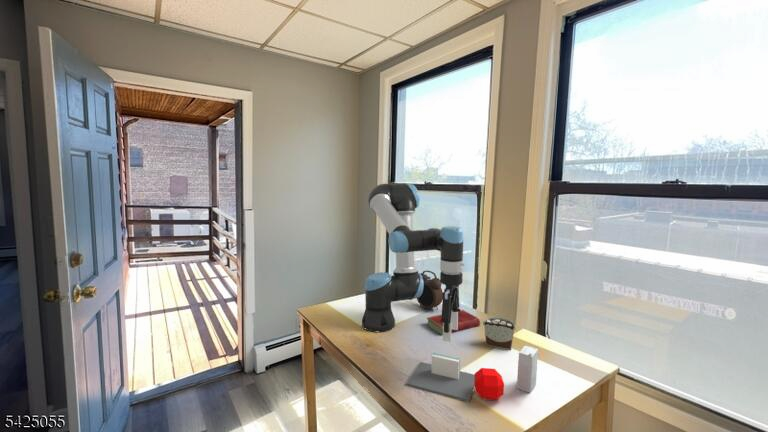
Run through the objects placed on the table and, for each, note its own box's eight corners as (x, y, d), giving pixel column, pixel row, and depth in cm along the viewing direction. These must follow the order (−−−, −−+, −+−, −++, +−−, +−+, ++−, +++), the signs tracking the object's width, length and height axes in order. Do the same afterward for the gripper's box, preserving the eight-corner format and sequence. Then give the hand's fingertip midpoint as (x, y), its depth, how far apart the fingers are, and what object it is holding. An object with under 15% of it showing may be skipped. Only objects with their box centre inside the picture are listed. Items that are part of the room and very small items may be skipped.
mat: (406, 384, 106) (406, 383, 106) (420, 363, 118) (420, 361, 118) (469, 402, 97) (469, 400, 97) (477, 377, 110) (477, 375, 110)
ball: (499, 388, 103) (500, 365, 103) (504, 405, 96) (505, 380, 95) (473, 386, 105) (473, 363, 104) (476, 403, 97) (476, 378, 96)
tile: (431, 372, 111) (431, 355, 111) (433, 369, 113) (433, 352, 113) (458, 379, 107) (458, 361, 107) (459, 375, 109) (460, 358, 109)
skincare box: (522, 379, 108) (523, 344, 107) (537, 385, 105) (538, 348, 104) (516, 388, 104) (517, 351, 102) (531, 394, 101) (532, 356, 99)
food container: (516, 343, 133) (516, 319, 132) (515, 350, 127) (516, 325, 126) (484, 337, 138) (484, 314, 137) (482, 344, 132) (482, 320, 131)
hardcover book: (480, 327, 149) (480, 318, 149) (442, 336, 140) (442, 327, 140) (462, 317, 160) (463, 309, 160) (426, 326, 151) (426, 317, 150)
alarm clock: (413, 307, 173) (413, 269, 171) (422, 303, 178) (423, 267, 176) (434, 315, 162) (435, 275, 160) (444, 311, 167) (444, 272, 165)
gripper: (454, 281, 102) (453, 351, 104) (468, 265, 122) (467, 324, 124) (431, 278, 105) (430, 346, 107) (448, 263, 125) (447, 321, 127)
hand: (450, 334), depth 116 cm, fingers open, 9 cm apart
